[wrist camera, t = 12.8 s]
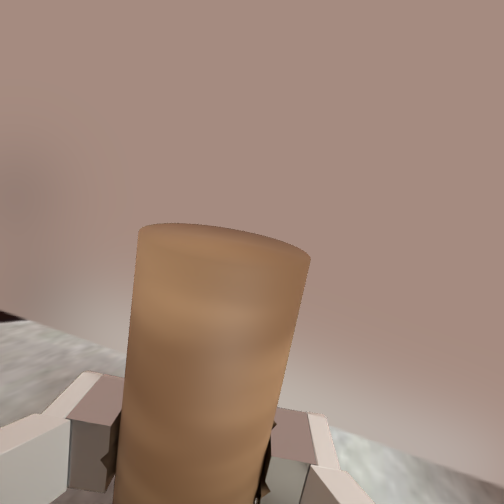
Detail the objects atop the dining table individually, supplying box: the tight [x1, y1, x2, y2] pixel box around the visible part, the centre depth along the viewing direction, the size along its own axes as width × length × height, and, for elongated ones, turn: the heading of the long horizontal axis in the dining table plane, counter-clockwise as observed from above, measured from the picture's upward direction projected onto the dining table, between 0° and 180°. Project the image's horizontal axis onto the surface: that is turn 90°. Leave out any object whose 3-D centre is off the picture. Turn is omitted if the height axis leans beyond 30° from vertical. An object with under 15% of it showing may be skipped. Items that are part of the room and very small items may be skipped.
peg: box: [112, 223, 311, 504], centre depth 7 cm, size 3×3×12 cm
